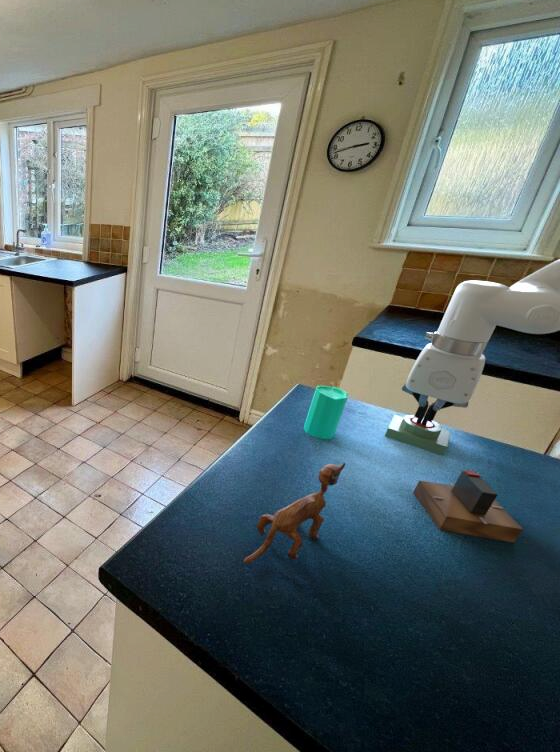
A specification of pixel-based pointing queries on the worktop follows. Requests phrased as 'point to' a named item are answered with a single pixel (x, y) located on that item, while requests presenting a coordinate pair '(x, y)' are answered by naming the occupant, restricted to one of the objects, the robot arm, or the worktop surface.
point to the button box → (419, 434)
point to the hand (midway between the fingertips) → (421, 421)
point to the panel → (465, 514)
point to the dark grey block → (474, 492)
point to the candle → (325, 411)
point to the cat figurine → (298, 515)
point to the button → (428, 425)
